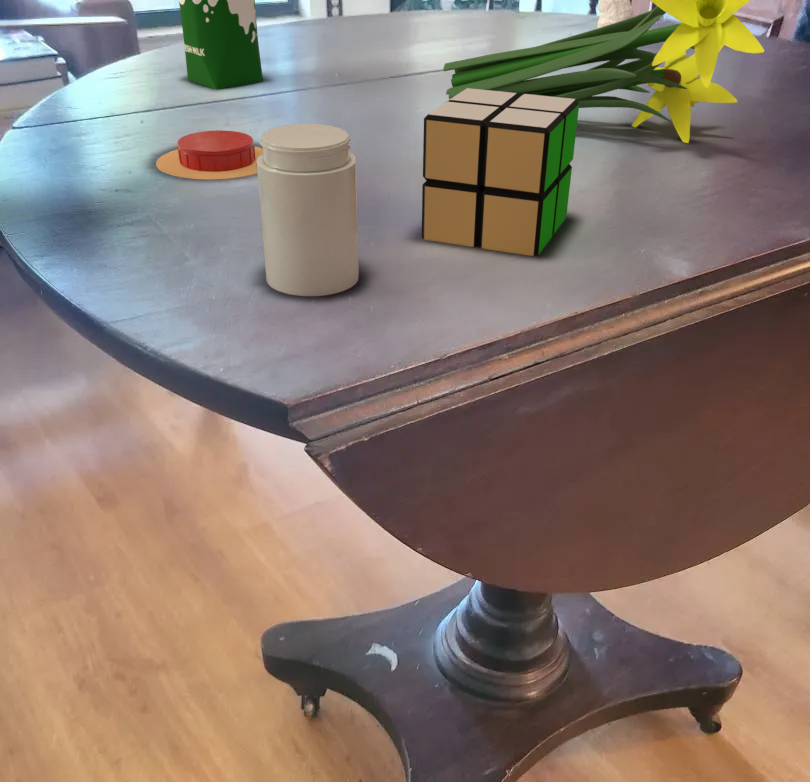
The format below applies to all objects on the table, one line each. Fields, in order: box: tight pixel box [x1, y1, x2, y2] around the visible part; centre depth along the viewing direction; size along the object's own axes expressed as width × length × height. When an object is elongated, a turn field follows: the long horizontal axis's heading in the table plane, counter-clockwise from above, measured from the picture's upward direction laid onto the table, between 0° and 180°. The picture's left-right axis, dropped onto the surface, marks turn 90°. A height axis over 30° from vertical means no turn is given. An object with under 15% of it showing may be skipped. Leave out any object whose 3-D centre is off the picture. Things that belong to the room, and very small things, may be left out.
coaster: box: [155, 145, 263, 180], centre depth 94 cm, size 12×12×1 cm
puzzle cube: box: [421, 88, 580, 257], centre depth 77 cm, size 10×10×10 cm
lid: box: [177, 129, 255, 171], centre depth 94 cm, size 7×7×2 cm
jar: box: [256, 123, 360, 297], centre depth 68 cm, size 7×7×11 cm
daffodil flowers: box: [442, 0, 765, 144], centre depth 100 cm, size 17×15×35 cm
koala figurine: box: [597, 0, 634, 29], centre depth 139 cm, size 8×7×12 cm
